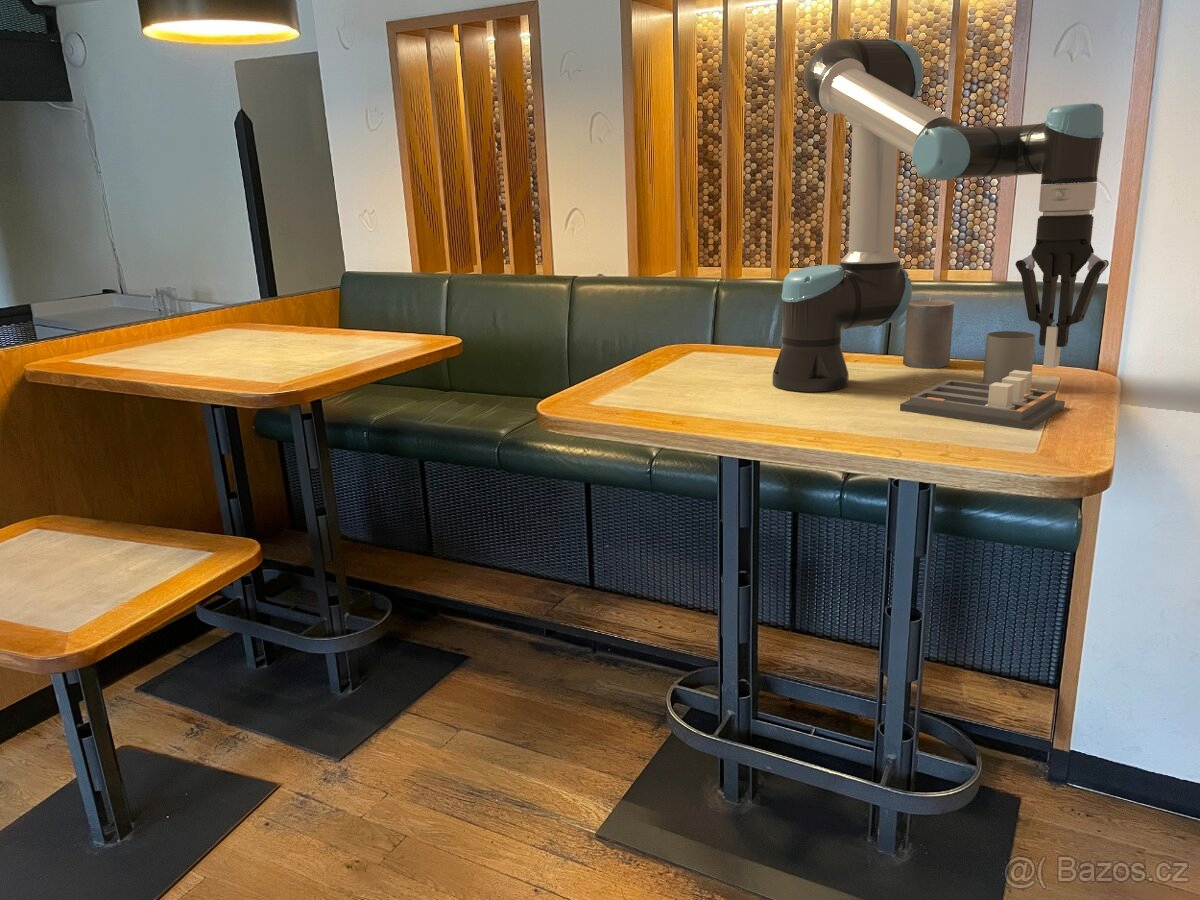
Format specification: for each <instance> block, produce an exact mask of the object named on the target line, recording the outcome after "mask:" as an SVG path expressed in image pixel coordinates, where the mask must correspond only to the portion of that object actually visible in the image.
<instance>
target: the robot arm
mask: <svg viewBox="0 0 1200 900" xmlns="http://www.w3.org/2000/svg"><path fill="white" fill-rule="evenodd" d="M803 77H804V78H803V79H804V80H803V82H804V83H803V84H804V88H805V91H806V94H807V96H808V97H809V98H810V100H811V102H813V103H814V104H815V105H816V106H818V107H819V108H820V109H822V110H824V111H826V112H827V113H829V114H832V115H839V114H842V115H844V119H845V120H846V122H848V123H849V124H850V125H851V128H852V134H851V135H852V136H851V167H850V197H849V201H850V202H849V230H848V252H847V253H846V255H844V256H843V258H842V259H840V265H837V264H821V265H812V266H806V267H802V268H798V269H796V270H792V271H791V272H788V273H787V275H786V276H785V277H784V278H783V281H782V283H783V284H782V292H781V301H782V303H781V305H782V306H781V308H782V311H781V348H780V351H779V354H778V356H777V359H776V363H775V365H774V368H773V370H772V371H773V372H772V385H773V386H774V387H776V388H779V389H782V390H786V391H794V392H807V393H808V392H809V393H811V392H813V393H814V392H815V393H816V392H828V391H829V392H830V391H835V390H841V389H844V388H845V387H848V385H849V375H850V374H849V370H848V367H847V363H846V360H845V356H844V353H843V349H842V330H849V329H855V328H863V327H880V326H882V325H886V324H891V323H893V322H896V321H897V320H899V319H900V317H901V316H902V315H904V313H905V312H906V310H907V307H908V305H909V303H910V301H911V300H912V292H913V285H912V284H913V283H912V279H911V278H910V277H909V273H908V272H907V270H906V269H904V268H903V267H901V257H900V256H899V255H898V254H896V253H895V251H894V238H895V237H894V236H895V235H894V233H895V215H896V212H895V211H896V191H897V169H898V168H897V167H898V152H899V151H898V150H900V151H901V152H903V153H904V154H906V155H907V156H909V157H911V162H912V165H913V167H914V168H915V170H916V173H917V175H918V176H919V177H921V178H924V179H925V180H926V179H927V180H937V181H948V180H955V179H956V180H957V179H971V178H993V177H996V178H1002V177H1005V178H1008V177H1012V176H1027V175H1041V177H1040V178H1041V181H1040V192H1039V204H1038V205H1039V206H1038V211H1039V212H1040V213H1042V215H1040V216H1039V217H1038V218H1037V224H1036V225H1037V226H1036V235H1035V244H1034V246H1033V248H1032V250H1031V254H1030V255H1028V256H1027V257H1024V258H1022V259H1018V260H1017V261H1015V264H1014V265H1015V267H1016V269H1017V271H1018V272H1019V274H1020V276H1021V282H1022V288H1023V293H1024V294H1023V295H1024V301H1025V306H1026V313H1027V318H1028V320H1029V322H1034V323H1037V324H1038V325H1039V327H1040V328H1039V337H1038V338H1039V339H1038V344H1039V346H1042V347H1043V346H1044V355H1043V364H1042V365H1043V366H1042V368H1045V369H1055V368H1057V367H1058V366H1060V358H1061V350H1062V348H1064V347H1067V345H1068V343H1069V334H1070V333H1069V332H1070V327H1071V326H1072V325H1074V324H1078V323H1081V322H1083V320H1084V319H1085V316H1086V314H1087V312H1088V309H1089V305H1090V304H1091V301H1092V298H1093V295H1094V293H1095V290H1096V287H1097V284H1098V282H1099V279H1100V276H1101V275H1102V274H1103V273H1104V272H1105V271H1106V269H1107V268H1108V266H1109V265H1110V263H1109V260H1107V259H1102V258H1101V257H1099V256H1098V255H1096V254H1094V247H1093V246H1092V235H1093V228H1094V227H1093V225H1094V217H1095V216H1093V214H1092V213H1091V211H1093V210H1095V208H1096V198H1097V187H1098V186H1097V185H1098V174H1099V173H1098V172H1099V164H1100V158H1101V151H1102V150H1101V149H1102V143H1103V137H1104V133H1105V132H1104V108H1103V107H1102V105H1101V104H1099V103H1091V102H1090V103H1088V102H1087V103H1075V104H1065V105H1058V106H1053V107H1051V108H1049V110H1048V111H1047V113H1046V119H1045V121H1044V122H1042V123H1034V124H1022V125H1020V124H1019V125H996V126H995V125H994V126H966V125H962V124H960V123H958V122H957V121H955V120H953V119H950V118H949V117H948V116H946V115H944V114H943V113H940V112H939V111H936V110H935V109H933V108H931V107H930V106H927V105H926V104H924V103H923V102H920V101H919V100H917V97H918V96H919V93H918V92H919V91H920V92H921V89H922V86H923V81H924V67H923V62H922V58H921V56H920V55H919V52H918V50H916V49H915V48H914V46H913V45H912V44H911V43H909V42H907V41H904V40H894V39H892V38H887V39H886V38H884V39H883V38H881V39H879V38H878V39H877V38H876V39H872V38H871V39H869V38H868V39H865V38H863V39H860V38H859V39H858V38H857V39H856V38H855V39H853V38H852V39H851V38H839V39H835V40H831V41H829V42H827V43H825V44H823V45H822V46H820V47H819V48H818V49H816V51H814V53H813V54H812V55H811V57H810V58H809V59H808V62H807V64H806V67H805V71H804V76H803ZM1090 213H1091V214H1090ZM1035 263H1036V264H1035ZM1087 263H1088V264H1087ZM1086 264H1087V270H1088V273H1086V276H1085V279H1084V282H1083V284H1082V287H1081V289H1080V293H1079V295H1078V297H1077V301H1076V303H1075V306H1074V308H1073V305H1074V303H1073V302H1074V296H1075V295H1074V294H1075V285H1076V280H1077V276H1078V275H1077V274H1078V273H1079V272H1080V271H1081V269H1082V268H1083V267H1084V266H1085V265H1086ZM1036 265H1037V266H1038V267H1039V269H1040V270H1041V272H1042V273H1043V274H1042V282H1043V285H1042V294H1041V297H1042V298H1041V304H1040V297H1039V292H1038V291H1039V290H1038V287H1037V286H1038V285H1037V279H1036V273H1035V271H1034V269H1035V268H1036ZM1059 276H1060V295H1059V306H1058V314H1057V315H1058V316H1057V322H1056V323H1055V324H1053V323H1054V322H1055V320H1056V319H1054V315H1055V307H1056V306H1055V305H1056V295H1057V285H1058V281H1059Z"/></svg>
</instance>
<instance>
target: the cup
mask: <svg viewBox="0 0 1200 900" xmlns="http://www.w3.org/2000/svg"><path fill="white" fill-rule="evenodd" d="M1035 344H1036V334H1034V333H1032V332H1027V331H1026V332H1025V331H1020V330H1019V331H1016V330H1014V331H1013V330H999V331H990V332H988V333H987V334H986V341H985V353H984V366H983V377H982V384H989V385H991V384H993V383H995V382H998V383H1002V379H1003V378H1005V377H1007V376H1009V373H1010V372H1012V371H1014V370H1019V371H1028V372H1032V373H1033V365H1034V364H1033V363H1034V356H1035V346H1036V345H1035Z"/></svg>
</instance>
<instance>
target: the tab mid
mask: <svg viewBox="0 0 1200 900" xmlns="http://www.w3.org/2000/svg"><path fill="white" fill-rule="evenodd" d="M1025 382H1026V378H1019V377H1010V376H1007V377H1005V378H1003V379H1002V383H1006V384H1014V389H1013V399H1012V401H1016V402H1023V403H1027V399H1024V391H1025Z"/></svg>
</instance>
